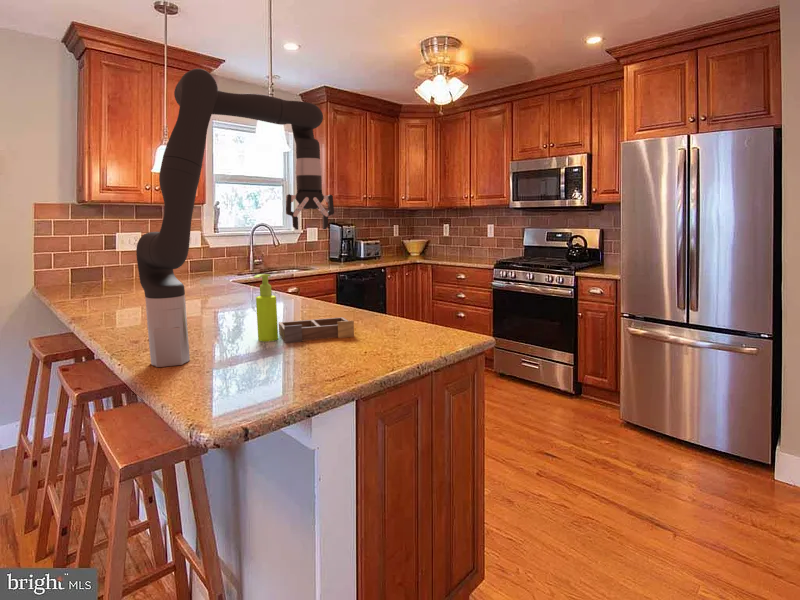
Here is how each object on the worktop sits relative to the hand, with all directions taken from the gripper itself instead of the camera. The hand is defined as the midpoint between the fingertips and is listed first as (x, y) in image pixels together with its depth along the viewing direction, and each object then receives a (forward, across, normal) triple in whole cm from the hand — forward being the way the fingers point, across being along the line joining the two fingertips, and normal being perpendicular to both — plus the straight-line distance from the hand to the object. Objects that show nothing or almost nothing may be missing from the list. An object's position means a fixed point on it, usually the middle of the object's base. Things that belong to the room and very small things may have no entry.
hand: (310, 229), depth 157 cm
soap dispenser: (+33, -15, 0) cm, 36 cm away
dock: (+33, 0, 0) cm, 33 cm away
